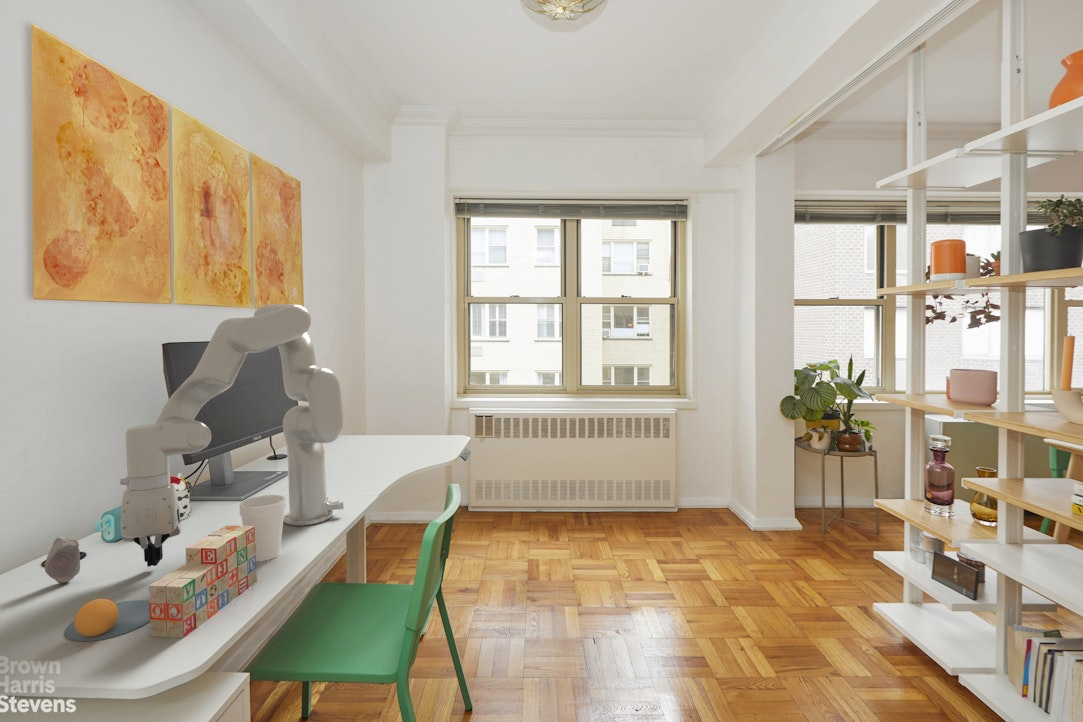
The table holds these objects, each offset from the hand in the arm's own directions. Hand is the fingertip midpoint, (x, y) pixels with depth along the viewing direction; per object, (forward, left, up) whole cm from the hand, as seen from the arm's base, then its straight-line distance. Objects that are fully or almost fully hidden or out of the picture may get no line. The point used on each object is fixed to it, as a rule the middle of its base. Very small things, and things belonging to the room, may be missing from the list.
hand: (153, 563), depth 122 cm
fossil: (+16, +1, -2) cm, 16 cm away
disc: (0, +22, -2) cm, 22 cm away
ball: (+1, +27, +2) cm, 27 cm away
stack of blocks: (-15, +22, -2) cm, 27 cm away
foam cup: (-22, 0, -2) cm, 22 cm away
